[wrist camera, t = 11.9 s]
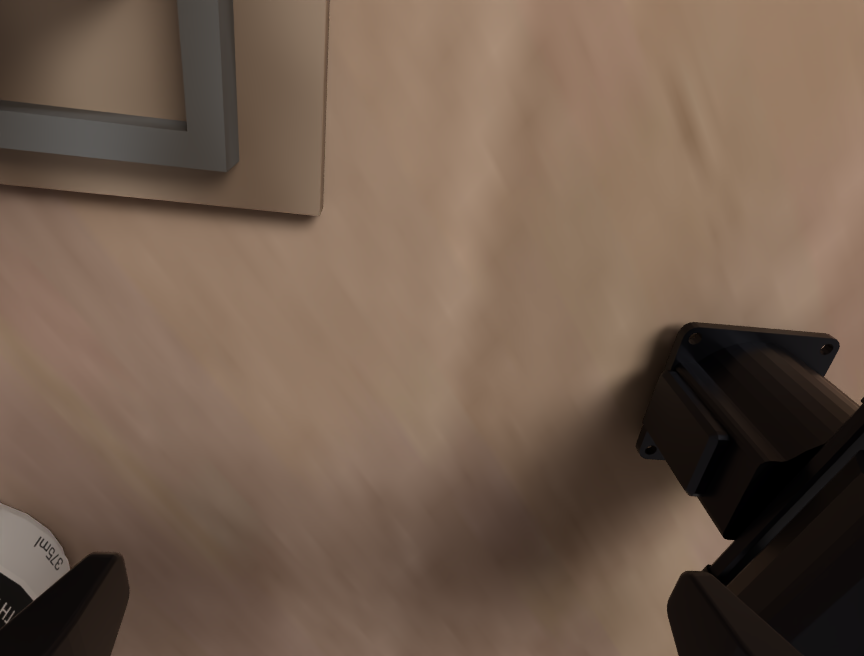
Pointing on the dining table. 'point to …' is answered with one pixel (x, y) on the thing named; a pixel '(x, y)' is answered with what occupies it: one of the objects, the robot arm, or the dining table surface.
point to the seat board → (167, 99)
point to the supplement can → (26, 561)
